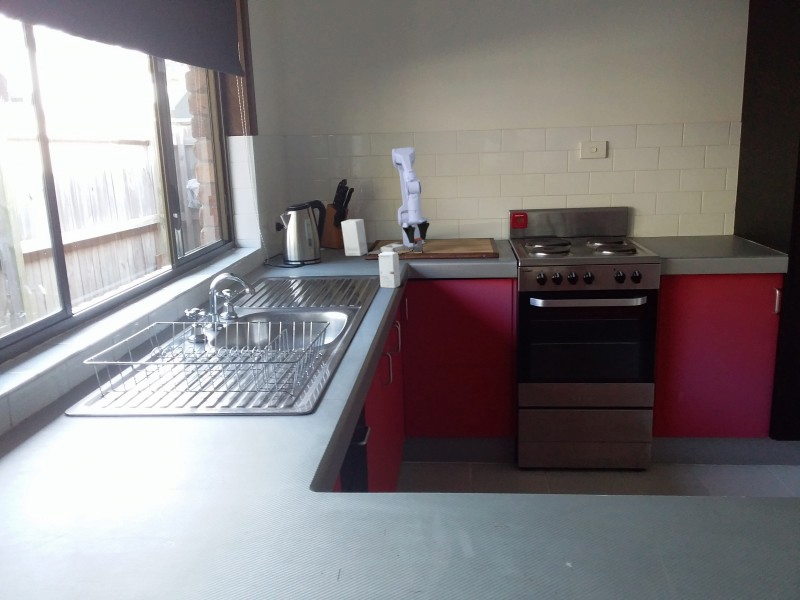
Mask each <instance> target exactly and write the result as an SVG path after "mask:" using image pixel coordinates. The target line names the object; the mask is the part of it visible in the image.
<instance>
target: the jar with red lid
mask: <svg viewBox="0 0 800 600" xmlns="http://www.w3.org/2000/svg"><path fill="white" fill-rule="evenodd" d="M423 249H424V248H423V244H422V238H414V243H413V250H414V251H413V253H414V252H421V251H423V252H424V250H423Z"/></svg>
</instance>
